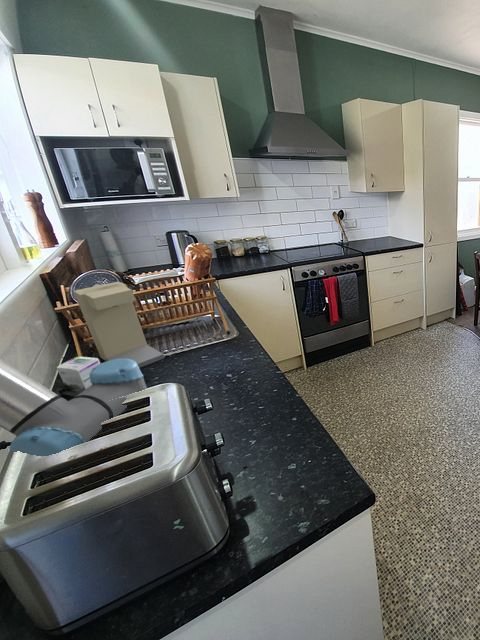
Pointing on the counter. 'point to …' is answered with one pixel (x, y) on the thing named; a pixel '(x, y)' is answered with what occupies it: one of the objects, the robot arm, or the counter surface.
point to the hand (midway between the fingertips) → (79, 377)
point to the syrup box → (77, 373)
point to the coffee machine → (115, 323)
